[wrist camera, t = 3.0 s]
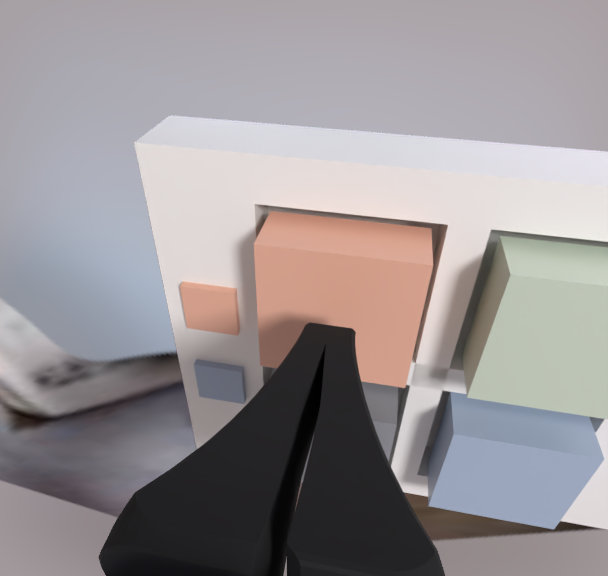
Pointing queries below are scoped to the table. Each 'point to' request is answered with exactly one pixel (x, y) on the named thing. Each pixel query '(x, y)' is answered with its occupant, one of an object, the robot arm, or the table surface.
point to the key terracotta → (343, 287)
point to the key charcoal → (378, 413)
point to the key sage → (542, 328)
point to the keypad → (364, 207)
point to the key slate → (510, 461)
